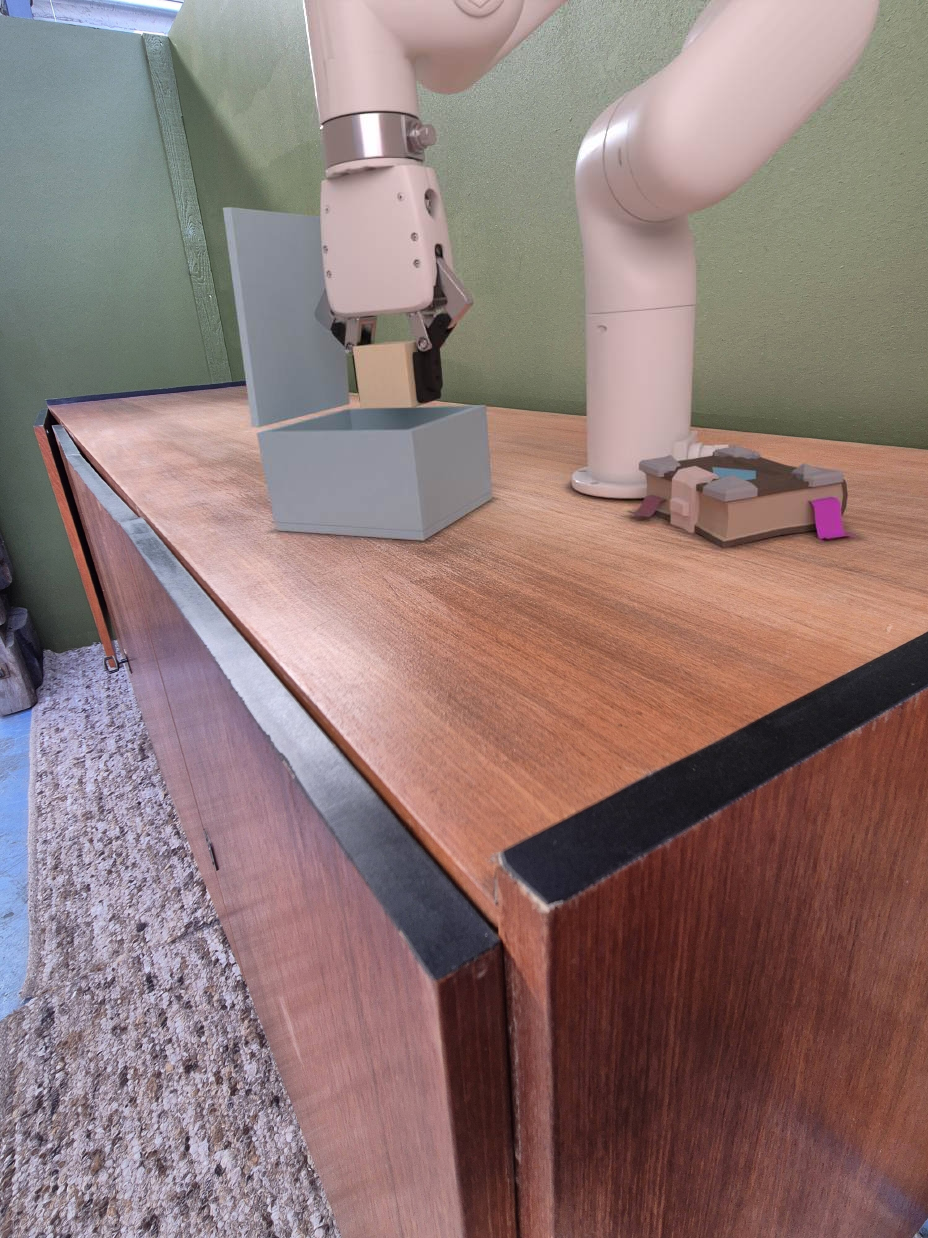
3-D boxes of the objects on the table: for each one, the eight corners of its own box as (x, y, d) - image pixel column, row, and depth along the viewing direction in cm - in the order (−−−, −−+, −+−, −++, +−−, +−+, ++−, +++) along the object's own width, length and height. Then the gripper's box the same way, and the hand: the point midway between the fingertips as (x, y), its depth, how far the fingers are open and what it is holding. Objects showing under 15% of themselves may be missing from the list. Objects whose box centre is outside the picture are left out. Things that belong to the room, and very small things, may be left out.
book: (590, 502, 65) (590, 446, 63) (707, 483, 68) (710, 429, 66) (719, 565, 48) (724, 491, 46) (870, 536, 50) (881, 465, 48)
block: (439, 399, 62) (434, 338, 60) (410, 408, 58) (404, 343, 56) (391, 400, 65) (384, 342, 63) (360, 409, 61) (352, 346, 59)
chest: (492, 498, 69) (486, 404, 65) (423, 541, 58) (411, 430, 54) (359, 493, 76) (347, 408, 72) (275, 530, 65) (256, 432, 61)
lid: (336, 218, 65) (296, 220, 67) (230, 206, 54) (185, 209, 56) (350, 403, 72) (313, 401, 74) (258, 427, 61) (218, 423, 63)
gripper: (495, 141, 54) (508, 393, 61) (314, 177, 61) (345, 397, 68) (449, 124, 48) (469, 406, 55) (254, 166, 55) (295, 409, 62)
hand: (400, 399), depth 61 cm, fingers closed on block, 5 cm apart
